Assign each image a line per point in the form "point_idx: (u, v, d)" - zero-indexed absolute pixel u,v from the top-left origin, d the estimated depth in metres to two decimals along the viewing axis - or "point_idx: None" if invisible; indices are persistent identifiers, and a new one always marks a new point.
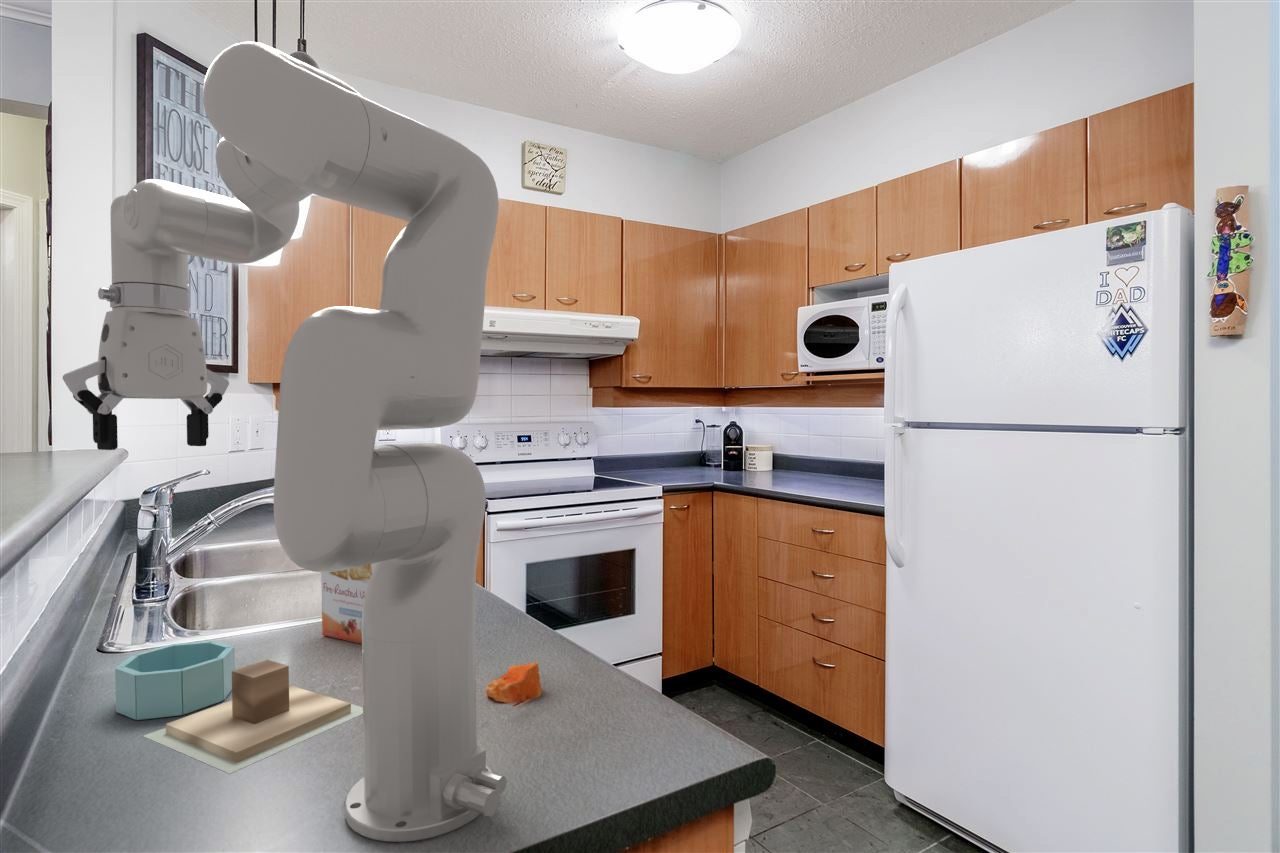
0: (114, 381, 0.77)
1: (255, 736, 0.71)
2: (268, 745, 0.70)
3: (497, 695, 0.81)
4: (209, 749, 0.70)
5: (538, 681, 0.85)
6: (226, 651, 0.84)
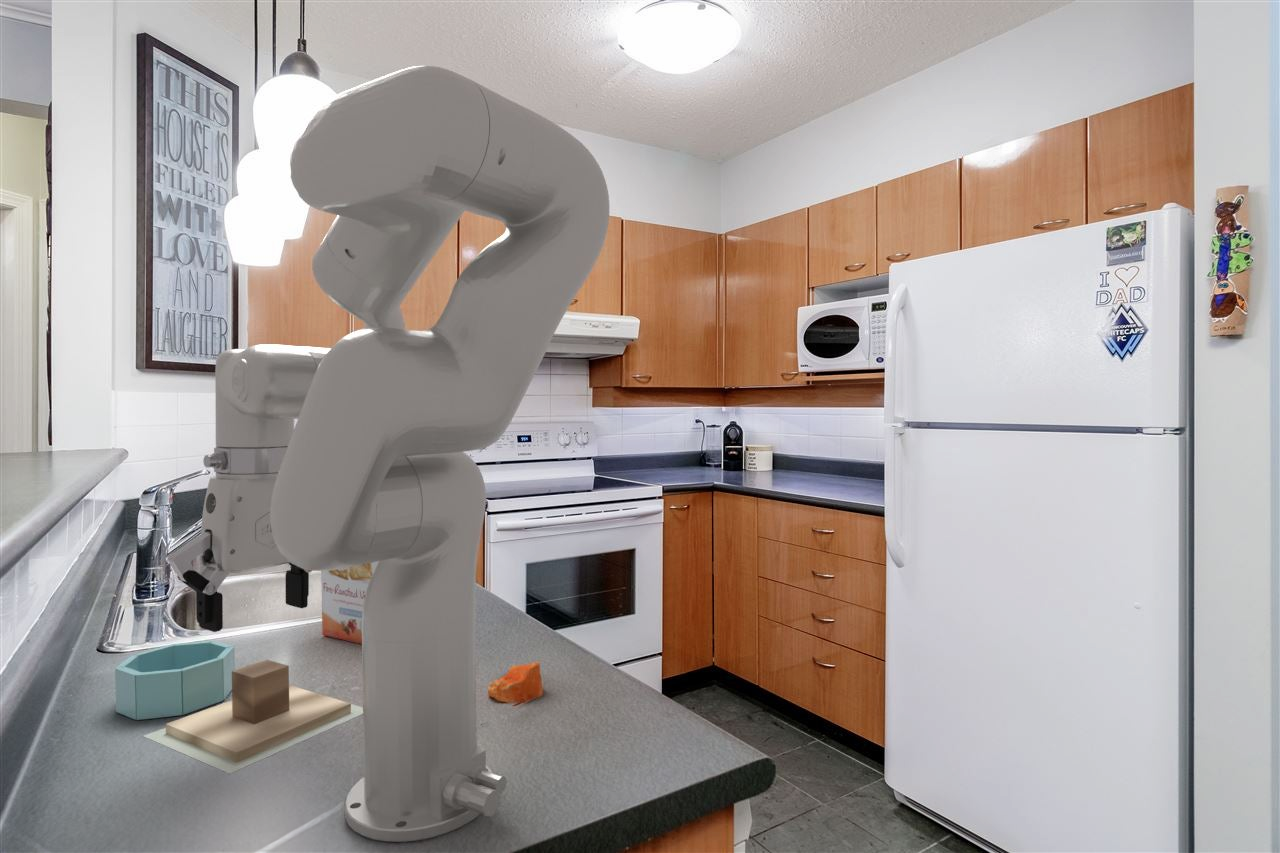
0: (221, 559, 0.71)
1: (255, 736, 0.71)
2: (268, 745, 0.70)
3: (498, 695, 0.81)
4: (209, 749, 0.70)
5: (539, 681, 0.85)
6: (226, 651, 0.84)
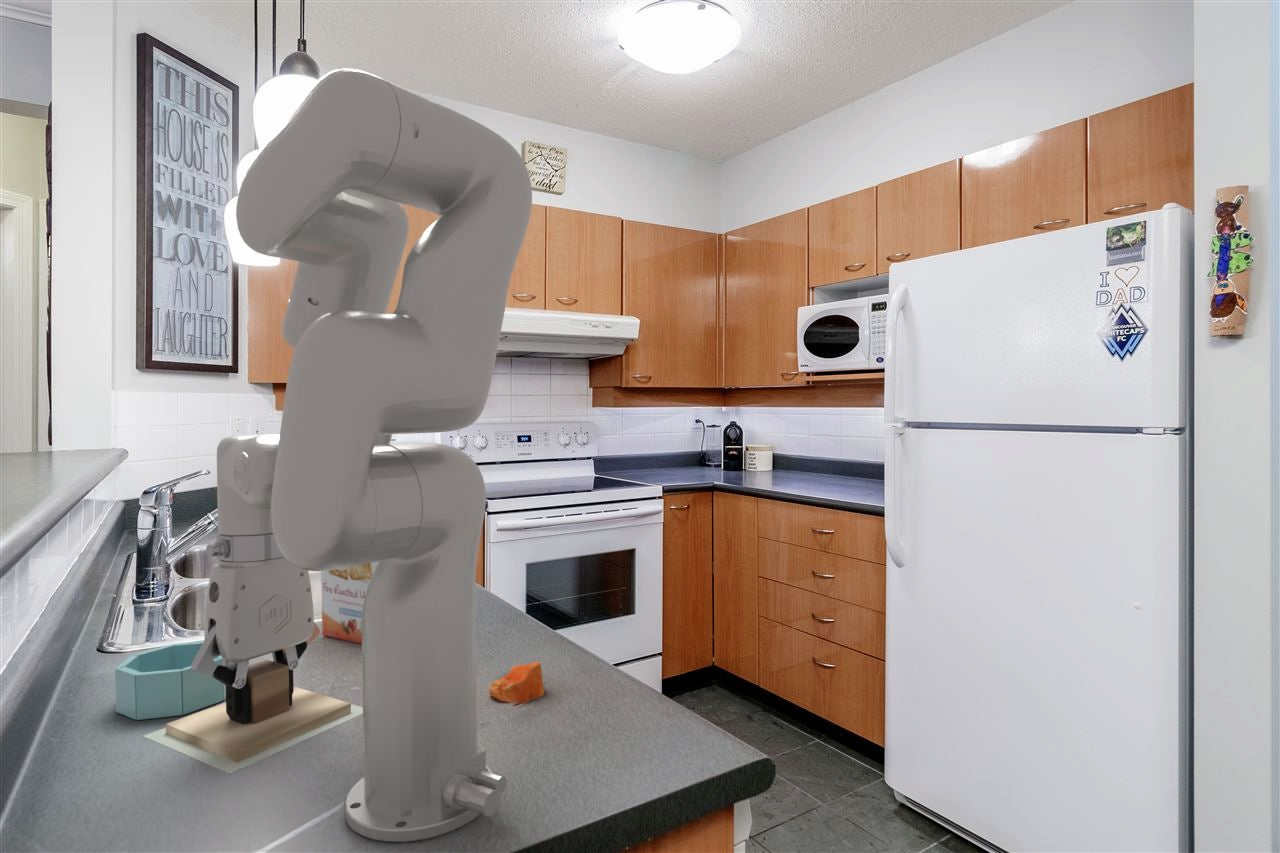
0: (225, 649, 0.71)
1: (255, 736, 0.71)
2: (268, 745, 0.70)
3: (500, 695, 0.81)
4: (209, 749, 0.70)
5: (541, 681, 0.85)
6: None
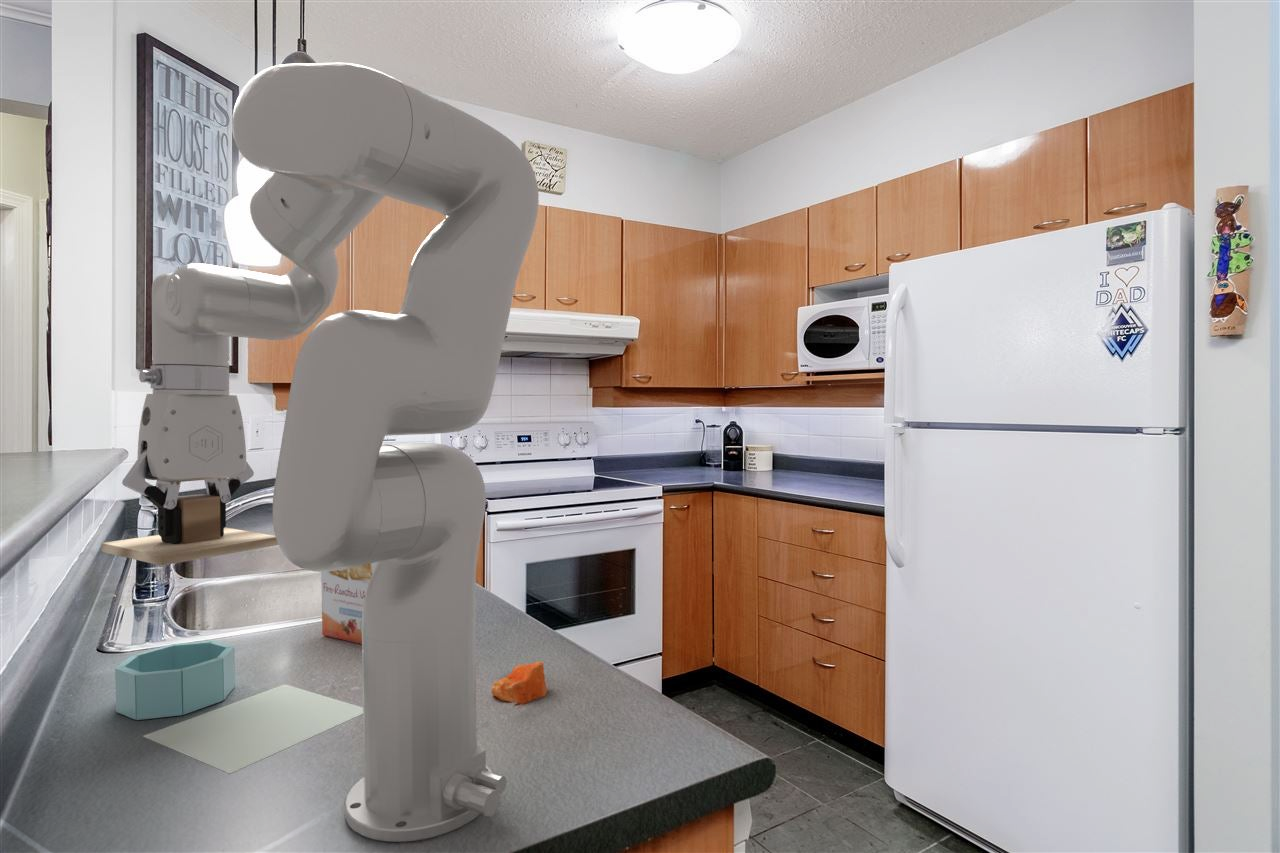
0: (155, 467, 0.75)
1: (182, 549, 0.75)
2: (194, 557, 0.75)
3: (502, 695, 0.81)
4: (138, 558, 0.74)
5: (543, 680, 0.85)
6: (226, 651, 0.84)
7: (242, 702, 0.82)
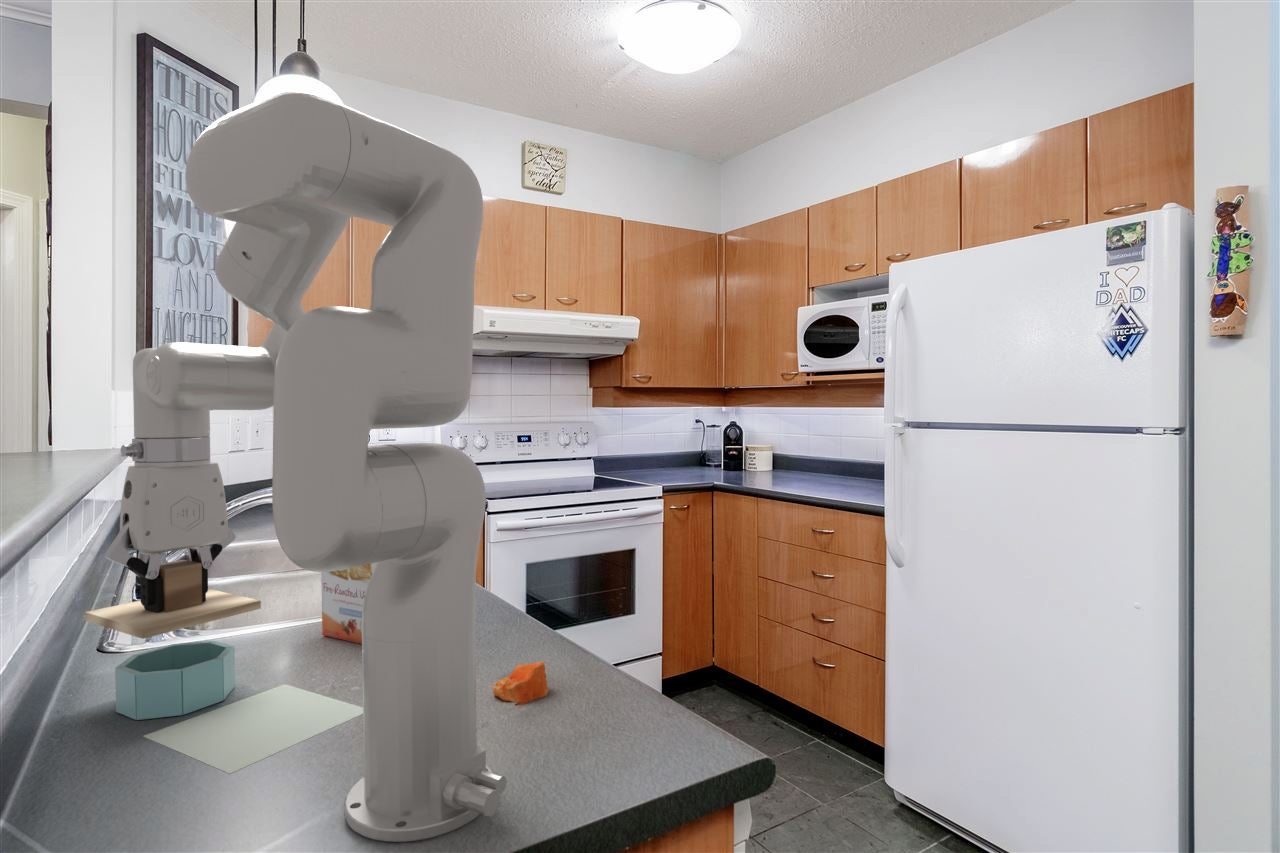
0: (137, 540, 0.77)
1: (164, 620, 0.77)
2: (175, 627, 0.77)
3: (504, 695, 0.81)
4: (120, 630, 0.76)
5: (545, 680, 0.85)
6: (226, 651, 0.84)
7: (242, 702, 0.82)
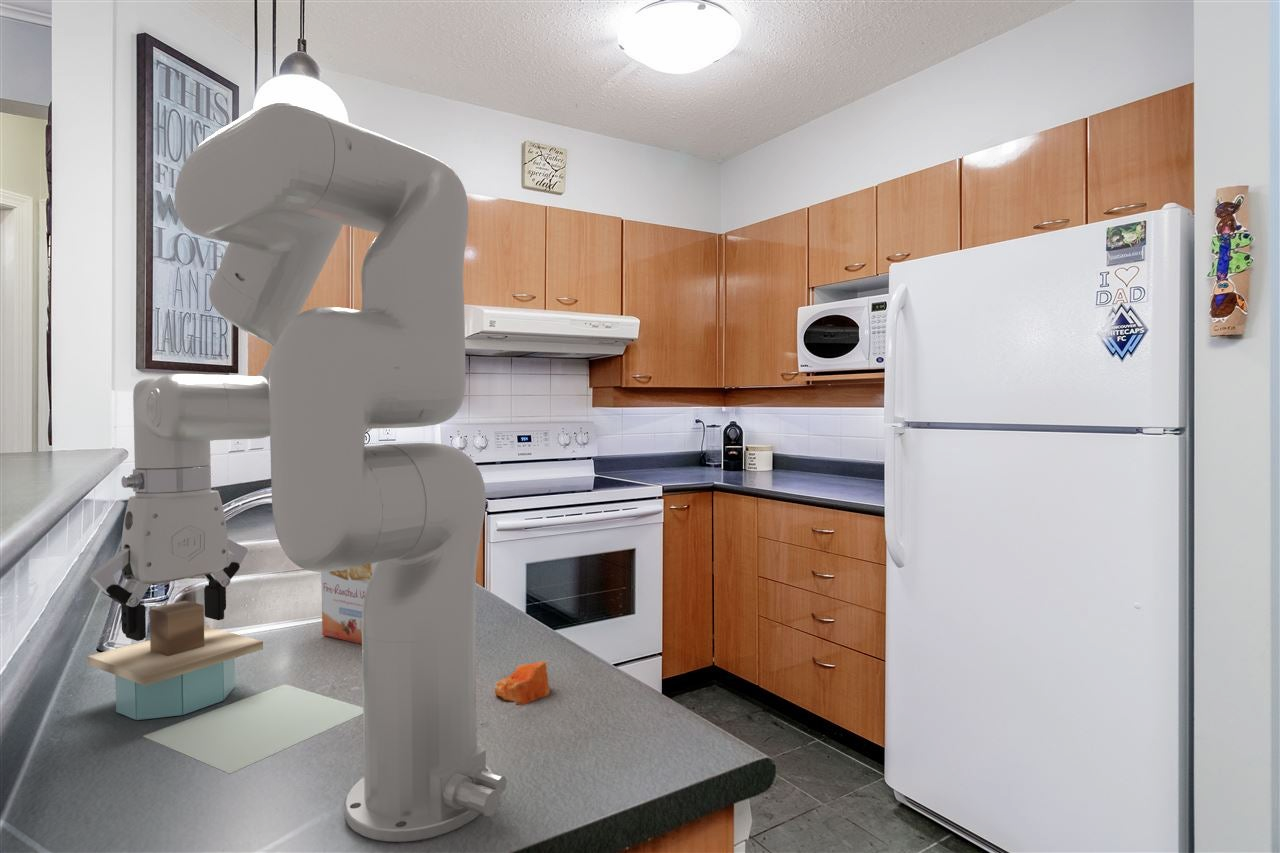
0: (138, 571, 0.77)
1: (166, 665, 0.77)
2: (177, 673, 0.77)
3: (505, 694, 0.81)
4: (123, 675, 0.76)
5: (546, 680, 0.85)
6: None
7: (242, 702, 0.82)
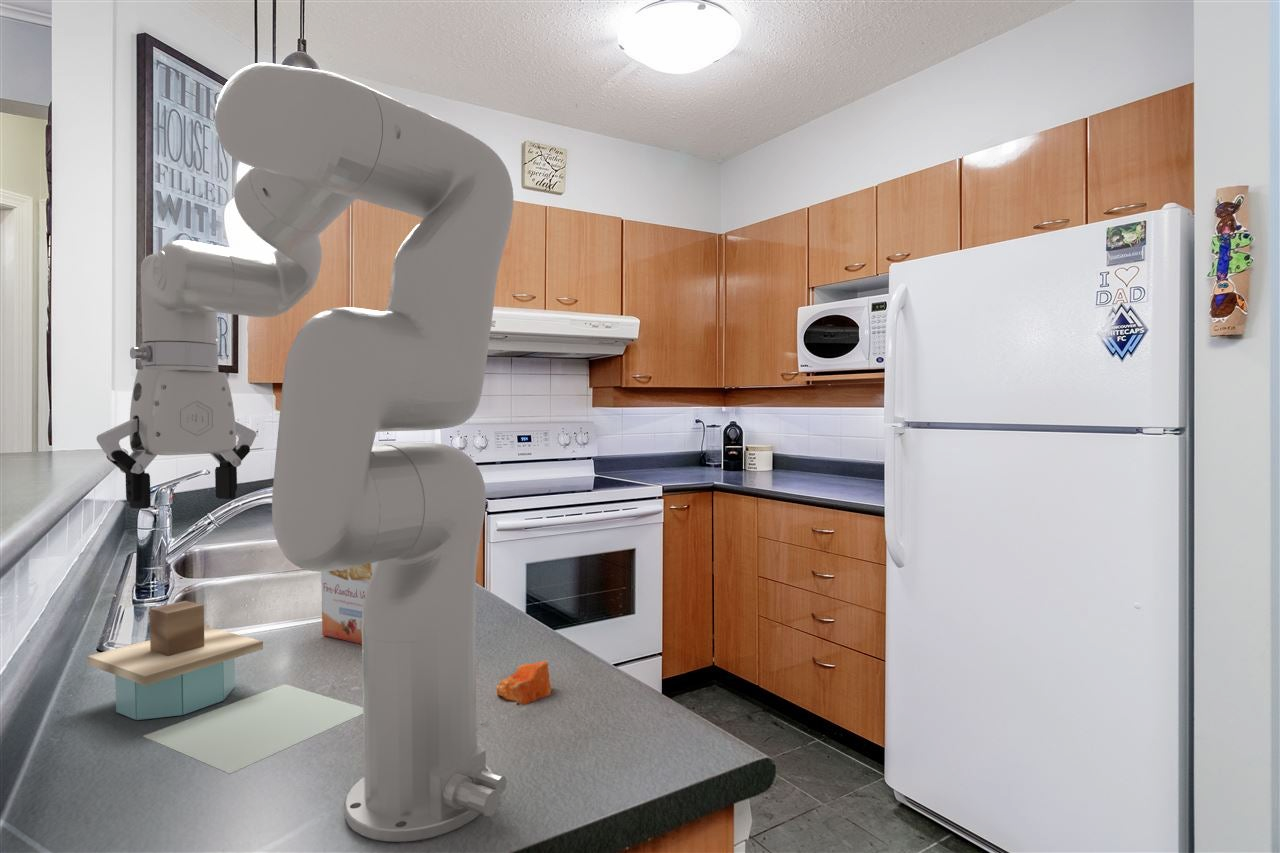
0: (147, 440, 0.77)
1: (166, 665, 0.77)
2: (177, 673, 0.77)
3: (507, 694, 0.81)
4: (123, 675, 0.76)
5: (548, 680, 0.85)
6: None
7: (242, 702, 0.82)
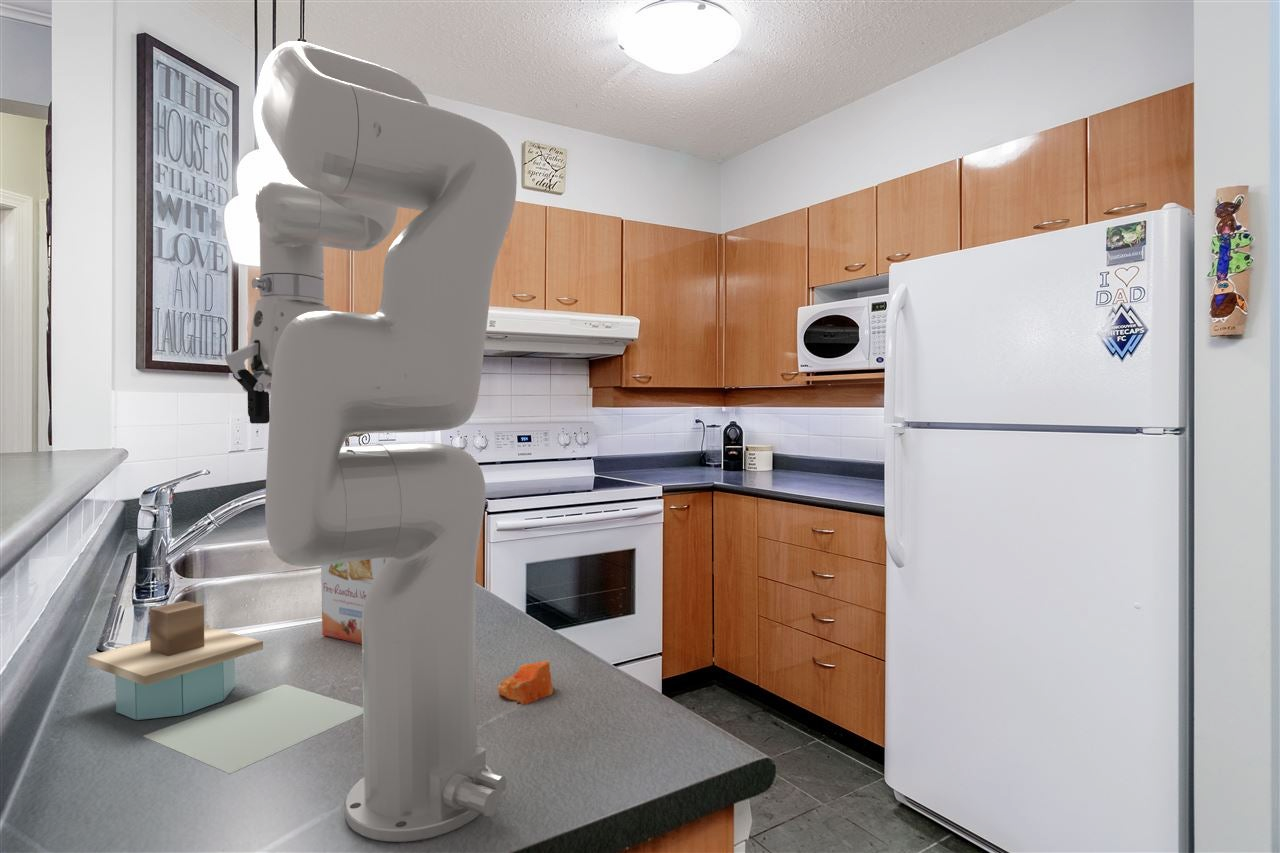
0: (268, 361, 0.86)
1: (166, 665, 0.77)
2: (177, 673, 0.77)
3: (509, 694, 0.82)
4: (123, 675, 0.76)
5: (549, 679, 0.85)
6: None
7: (242, 702, 0.82)
